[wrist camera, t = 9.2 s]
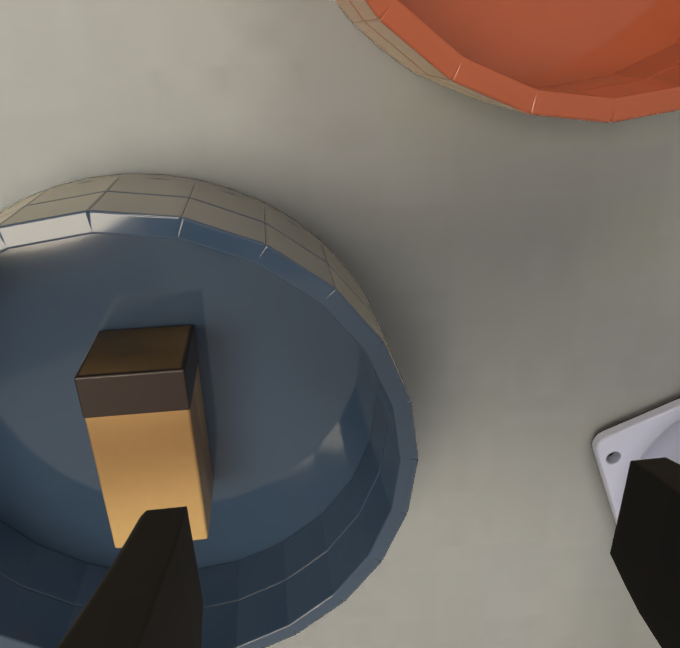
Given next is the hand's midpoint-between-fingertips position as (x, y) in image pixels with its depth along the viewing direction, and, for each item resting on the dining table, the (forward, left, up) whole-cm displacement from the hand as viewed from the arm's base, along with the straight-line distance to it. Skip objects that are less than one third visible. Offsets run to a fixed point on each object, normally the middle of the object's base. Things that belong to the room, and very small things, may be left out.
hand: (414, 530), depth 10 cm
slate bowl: (0, +6, -9) cm, 11 cm away
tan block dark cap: (0, +6, -9) cm, 11 cm away
